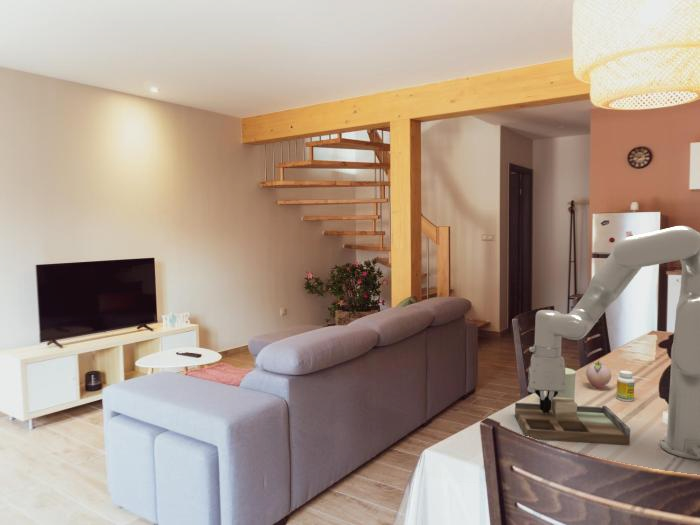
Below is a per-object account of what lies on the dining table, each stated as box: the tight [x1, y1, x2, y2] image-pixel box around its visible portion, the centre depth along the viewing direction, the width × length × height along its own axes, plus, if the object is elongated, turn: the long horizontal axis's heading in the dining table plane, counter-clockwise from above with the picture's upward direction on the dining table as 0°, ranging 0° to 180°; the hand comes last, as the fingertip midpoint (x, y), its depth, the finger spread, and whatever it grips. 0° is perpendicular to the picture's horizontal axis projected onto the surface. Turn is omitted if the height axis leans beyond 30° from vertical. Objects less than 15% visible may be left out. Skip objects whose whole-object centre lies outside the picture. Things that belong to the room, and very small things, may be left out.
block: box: [550, 397, 578, 419], centre depth 162 cm, size 6×6×4 cm
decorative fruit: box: [585, 361, 612, 389], centre depth 198 cm, size 9×8×10 cm
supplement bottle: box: [616, 370, 635, 402], centre depth 186 cm, size 5×5×10 cm
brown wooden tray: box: [514, 402, 631, 446], centre depth 157 cm, size 19×27×4 cm
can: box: [545, 367, 577, 401], centre depth 179 cm, size 9×9×12 cm
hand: (545, 411), depth 162 cm, fingers closed
